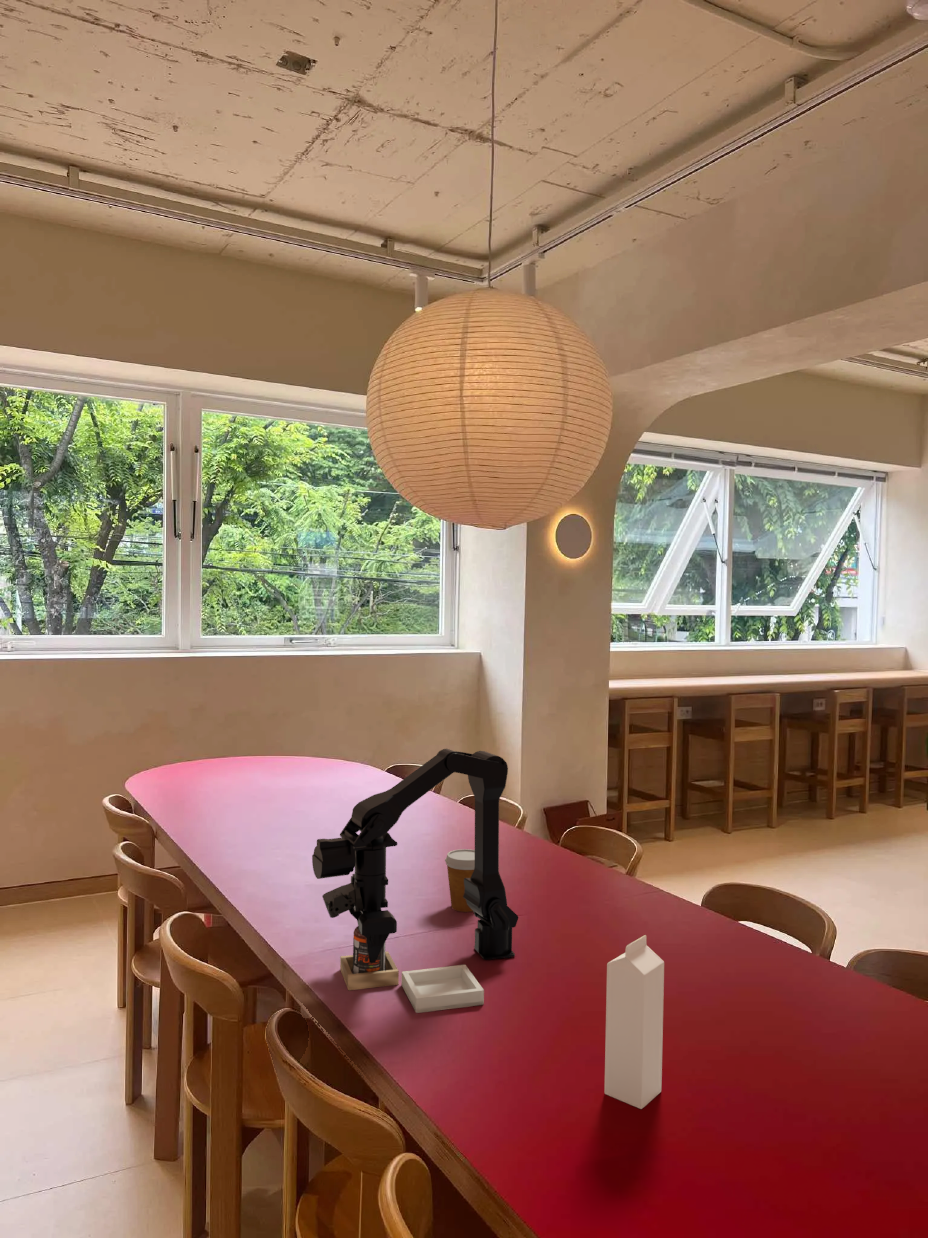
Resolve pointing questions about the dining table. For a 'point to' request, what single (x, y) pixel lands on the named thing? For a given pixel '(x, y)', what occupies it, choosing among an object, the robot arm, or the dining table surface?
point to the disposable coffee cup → (459, 876)
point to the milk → (634, 1025)
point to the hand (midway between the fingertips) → (369, 955)
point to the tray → (442, 988)
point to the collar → (369, 974)
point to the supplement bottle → (365, 956)
